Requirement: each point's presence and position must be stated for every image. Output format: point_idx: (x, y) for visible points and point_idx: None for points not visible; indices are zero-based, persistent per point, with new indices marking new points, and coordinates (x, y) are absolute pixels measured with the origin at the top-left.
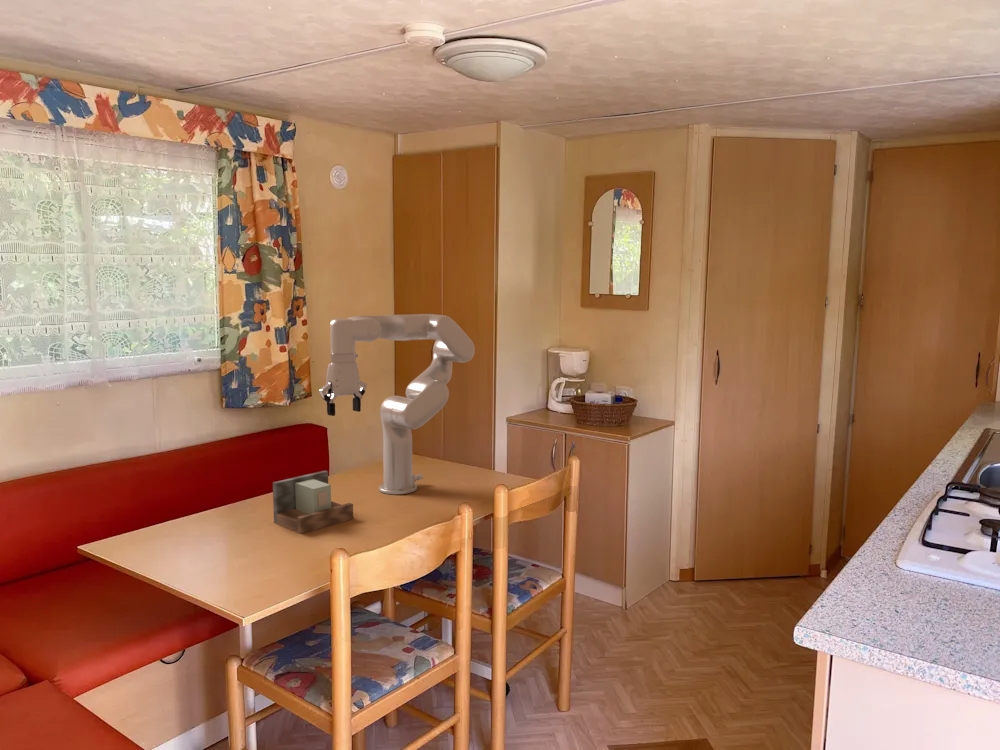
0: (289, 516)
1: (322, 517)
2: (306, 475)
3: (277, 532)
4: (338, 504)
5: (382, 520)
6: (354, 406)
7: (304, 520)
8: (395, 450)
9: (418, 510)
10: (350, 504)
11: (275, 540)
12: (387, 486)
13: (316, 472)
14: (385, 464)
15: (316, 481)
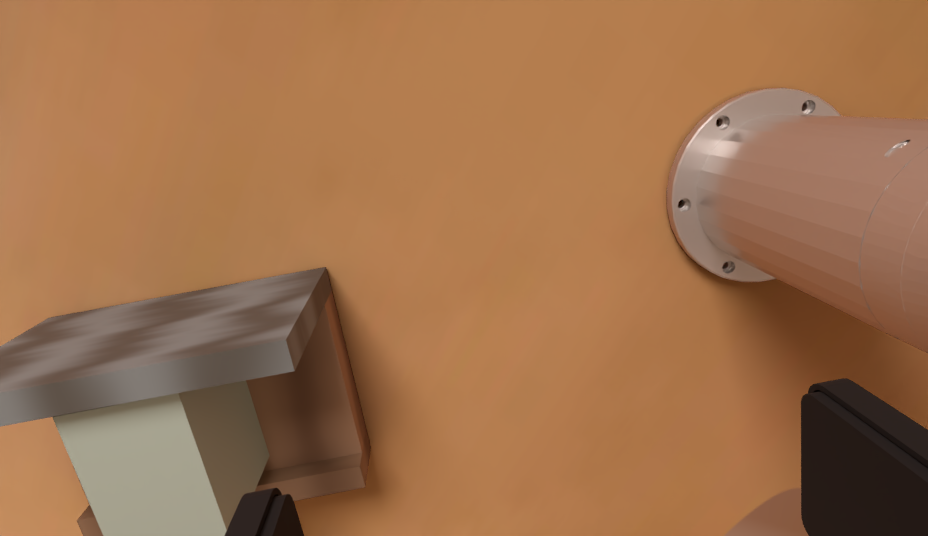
0: None
1: None
2: (135, 382)
3: (39, 426)
4: (337, 388)
5: (460, 509)
6: (856, 482)
7: None
8: (863, 318)
9: (636, 483)
10: (351, 488)
11: (12, 499)
12: (702, 209)
13: (218, 352)
14: (770, 215)
15: (181, 453)
